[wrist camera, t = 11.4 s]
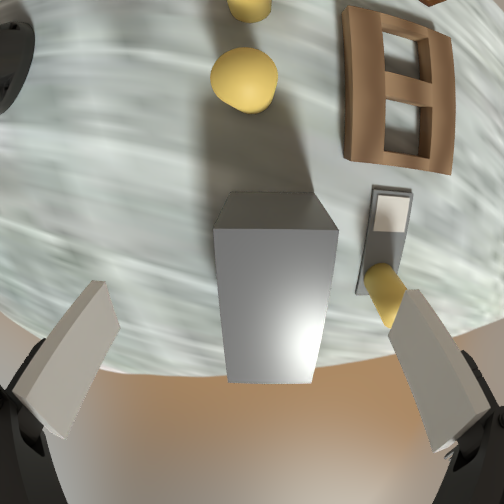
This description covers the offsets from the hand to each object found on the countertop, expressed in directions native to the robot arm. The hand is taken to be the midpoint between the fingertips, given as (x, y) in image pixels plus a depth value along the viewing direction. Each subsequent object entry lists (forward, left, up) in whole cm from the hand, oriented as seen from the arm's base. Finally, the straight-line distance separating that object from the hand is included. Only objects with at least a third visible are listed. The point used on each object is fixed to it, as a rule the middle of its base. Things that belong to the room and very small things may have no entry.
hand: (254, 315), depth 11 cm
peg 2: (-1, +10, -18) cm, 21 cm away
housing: (+1, -8, -18) cm, 20 cm away
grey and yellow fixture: (+14, -5, -18) cm, 23 cm away
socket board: (+14, +12, -18) cm, 26 cm away
